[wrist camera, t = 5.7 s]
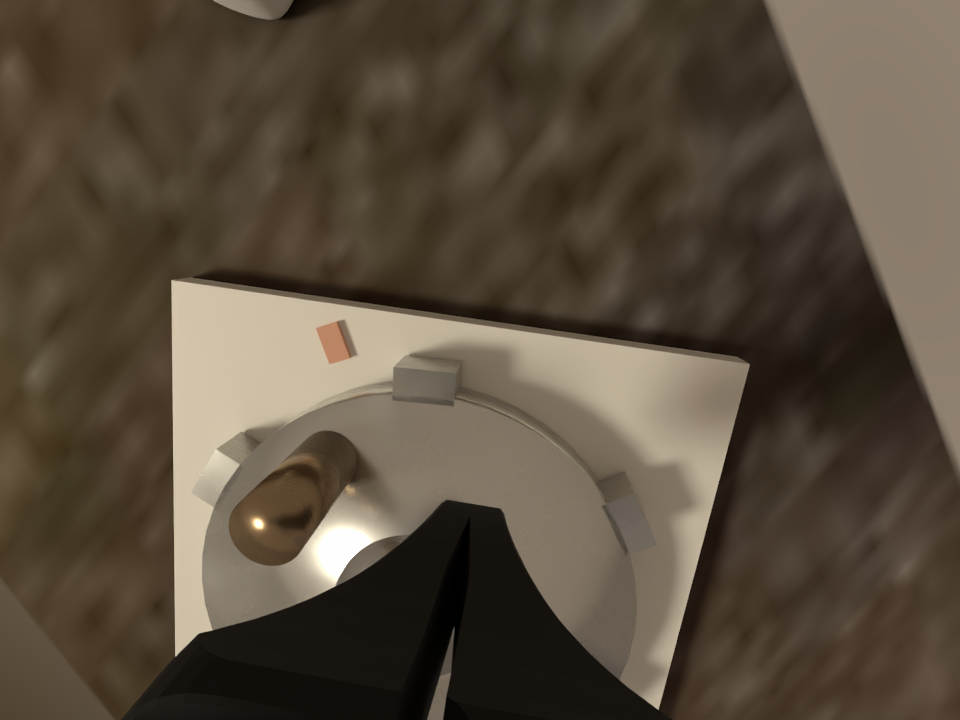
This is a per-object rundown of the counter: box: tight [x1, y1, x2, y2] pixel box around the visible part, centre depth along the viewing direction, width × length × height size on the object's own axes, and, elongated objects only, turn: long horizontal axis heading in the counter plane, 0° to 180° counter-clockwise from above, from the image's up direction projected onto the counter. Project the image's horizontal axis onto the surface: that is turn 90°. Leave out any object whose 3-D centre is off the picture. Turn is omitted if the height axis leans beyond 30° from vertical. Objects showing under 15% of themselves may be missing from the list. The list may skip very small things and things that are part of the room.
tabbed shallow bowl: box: [191, 355, 657, 720], centre depth 16 cm, size 14×16×6 cm
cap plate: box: [172, 278, 750, 710], centre depth 19 cm, size 18×18×1 cm
